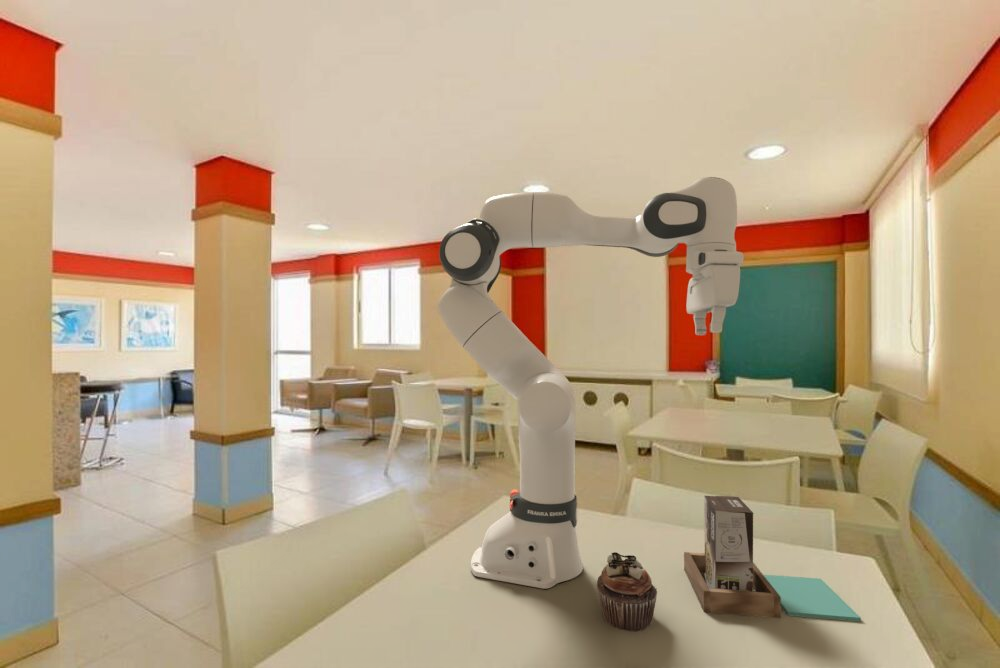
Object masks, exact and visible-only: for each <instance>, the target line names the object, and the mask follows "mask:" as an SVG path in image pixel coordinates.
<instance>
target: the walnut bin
mask: <svg viewBox="0 0 1000 668" xmlns="http://www.w3.org/2000/svg"><path fill="white" fill-rule="evenodd" d="M683 570H684V572H685V574H686V577H687V579H688V581H689V584H690V585H691V587H692V590H693V592H694V594H695V596H696V598H697V600H698V602H699V604H700V607H701V608H702V610H703V612H705V613H712V614H713V613H715V614H726V615H727V614H728V615H740V616H749V617H751V616H752V617H762V618H763V617H764V618H775V619H782V617H781V615H782V613H781V611H782V607H781V597H780V595H779V594H778V593H777V592H776V590H775V589H774V588H773V587H772V585H771V584H770V583H769V582H768V580H767V579H766V578H765V576H764V575H765V574H764V573H762V572H761V570H760V568H759V567H758V566H757V565H756V563H754V562H753V592H750V591H737V590H724V589H710V588H709V586H708V584H707V582H706V580H705V578H704V577H703V575H702V574H704V575H705V552H704V553H703V552H701V553H700V552H688V551H685V552H683Z"/></svg>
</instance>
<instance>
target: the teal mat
mask: <svg viewBox="0 0 1000 668" xmlns="http://www.w3.org/2000/svg"><path fill="white" fill-rule="evenodd" d="M763 575H764V576H765V578H766V579H767V580H768V582H769V583H770V584H771V585H772V587H773V588H774V589H775V590H776V592H777V593H778V594H779V595H780V597H781V609H782V610H783V611H784V612H785V614H786V615H787V616H788V617H790V616H791V617H800V618H801V617H802V618H814V619H826V620H827V619H828V620H838V621H839V620H840V621H852V622H862V617H860V615H858V613H857V612H855V611H854V609H853V608H852V607H850V606H849V604H847V602H845V601H844V600H843V599H842V597H840V596H839V595H838V593H836V592H835V591H834V590H833V589H832V588H831V587H830V586H829V585H828V584H827V583H826V582H825V581H824V580H823V579H822V578H816V577H805V576H804V577H803V576H802V577H801V576H789V575H776V574H775V575H774V574H773V575H772V574H763Z"/></svg>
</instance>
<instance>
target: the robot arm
mask: <svg viewBox="0 0 1000 668" xmlns="http://www.w3.org/2000/svg"><path fill="white" fill-rule="evenodd" d="M735 190H736V189H735V188H734V186H733V184H732V183H731V182H730V181H729V180H727V179H724V178H721V177H715V176H708V177H706V176H705V177H700V178H699V179H696V180H694V181H693V183H691V184H690V185H687V186H685V187H683V188H680V189H677V190H675V191H671V192H664V193H661V194H657V195H656V196H654V197H653V198H651V199H650V200H648V202H647V203H646V205H645V207H644V209H643V210H642V212H641V214H639V215H637V216H633V217H620V216H619V217H618V216H617V217H616V216H614V217H613V216H602V215H601V216H600V215H599V216H598V215H593V214H591V213H588V212H586V211H585V210H584V209H582V208H581V207H579V206H578V205H577V203H576V202H575V201H574V200H573V199H571V198H570V197H569V196H568V195H565V194H560V193H556V192H555V193H554V192H549V191H547V192H546V191H533V192H532V191H530V192H529V191H527V192H524V191H523V192H513V193H507V194H500V195H496V196H492V197H490V198H488V199H487V200H486V201H485V202H484V203H483V204H482V207H481V209H480V215H479V218H473V219H471V220H469V221H467V222H465V224H463V225H460V226H457V227H455V228H453V229H451V230H450V231H448V232H447V234H446V235H445V236H444V237H443V238H442V241H441V242H440V244H439V251H438V254H439V255H438V256H439V261H440V264H441V266H442V268H443V269H444V270H443V271H445V273H446V274H447V275H448V276H450V277H451V279H450V281H451V282H450V286H449V288H447V289H446V290H445V291H444V293H443V294H442V295H441V296H440V298H439V301H438V303H437V311H438V314H439V316H440V318H441V319H442V321H443V323H444V324H445V326H446V328H448V330H449V332H450V334H451V335H452V336H453V337H454V338H455V340H456V341H457V342H458V343H459V344H460V346H461V347H462V348H463V349H464V350H465V351H466V352H467V353H468V355H469V356H470V357H472V359H473V360H474V361H475V362H476V363H477V365H478V366H479V367H480V368H481V369H482V370H483V372H485V374H486V375H488V377H490V378H491V379H492V380H494V382H496V383H497V384H498V385H500V386H501V387H502V388H503V389H504V390H505V391H506V392H507V393H508V394H509V395H511V396H512V398H513V399H515V401H517V402H516V404H517V406H516V407H517V409H516V410H517V412H516V413H517V432H518V433H517V434H518V446H519V447H518V448H519V490H518V489H512V490H511V491H510V494H509V512H507V513H505V514H504V515H503V516H502V517H501V518H499V519H498V520H496V521H495V522H493V523H492V524H491V525H490V526H489V528H488V529H487V530H486V532H485V535H484V537H483V541H482V545H479V547H478V548H476V549H475V551H474V552H473V554H472V556H471V558H470V559H471V560H470V571H471V573H472V575H474V576H475V577H478V578H482V579H488V580H494V581H500V582H505V583H511V584H517V585H520V586H521V585H522V586H526V587H527V586H528V587H533V588H538V589H543V590H544V589H550V588H553V587H554V586H555V585H557V584H559V583H563V582H565V581H569V580H572V579H574V578H577V577H578V576H579V575H581V573H583V570H584V565H583V562H582V558H581V555H580V550H579V545H578V538H577V537H578V534H577V525H578V524H577V523H578V502H577V501H578V498H577V495H576V493H575V492H576V491H575V488H576V487H575V486H576V484H575V482H576V480H575V478H576V477H575V475H576V474H575V470H576V468H575V467H576V466H575V465H576V464H575V461H576V459H575V456H576V455H575V454H576V452H575V451H576V450H575V449H576V398H575V392H574V389H573V386H572V384H571V382H570V381H569V380H568V378H567V377H566V376H565V375H564V374H563V373H562V372H561V371H560V370H559V369H558V368H557V367H556V366H555V365H554V364H553V363H552V362H551V360H550V359H548V358H547V356H545V354H543V353H542V351H541V350H540V349H538V347H537V346H536V345H535V344H533V342H532V341H530V339H528V337H527V336H526V335H525V334H524V333H523V332H522V331H521V329H519V328H518V326H516V324H515V323H514V322H513V321H512V320H511V319H510V317H508V316H507V315H506V313H505V312H504V311H503V310H502V309H501V308H500V307H499V306H498V305H497V304H496V302H494V300H493V299H492V298H491V297H490V295H489V293H490V290H491V289H492V287H493V285H494V283H495V282H496V280H497V278H498V276H499V274H500V272H501V268H502V258H501V255H502V254H503V253H505V252H506V251H508V250H511V249H515V248H535V249H536V248H557V247H570V246H592V247H593V246H595V247H613V248H626V249H631V250H634V251H636V252H638V253H640V254H643V255H645V256H648V257H652V258H660V257H664V256H667V255H669V254H671V253H672V252H673V251H675V249H676V248H677V247H678V246H679V244H685V245H686V259H685V260H686V261H685V262H686V264H685V266H686V267H685V272H686V273H687V274H689V275H692V277H691V278H690V279H689V281H688V285H687V294H686V307H685V308H686V313H687V314H689V315H693V322H694V326H695V329H694V330H695V332H694V333H695V335H696V336H706V334H707V326H706V318H707V314H708V313H711V322H710V323H709V332H710V333H714V334H718V333H722V331H723V325H724V320H725V317H726V313H727V308H728V307H732V306H734V305H736V302H737V301H738V297H739V292H740V291H739V290H740V282H741V268H740V267H741V266H742V265H743V263H744V253H743V252H741V251H737V242H736V239H735V232H736V229H737V226H738V204H737V194H736V191H735Z"/></svg>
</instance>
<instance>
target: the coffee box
mask: <svg viewBox="0 0 1000 668" xmlns="http://www.w3.org/2000/svg"><path fill="white" fill-rule="evenodd" d="M703 497H704V499H703V501H704V502H703V503H704V506H703V508H704V509H703V511H704V513H703V514H704V518H703V519H704V524H703V525H704V553H705V574H704V581H705V583H706V585H707V586H708V588H710V589H724V590H737V591H750V592H754V589H753V563H754V512H753V510H751V508H749V507H748V506H747V505H746V503H745V502H744V501H743V500H742V499H741V498H740V497H739V496H730V495H729V496H728V495H715V496H714V495H704V496H703Z"/></svg>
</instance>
